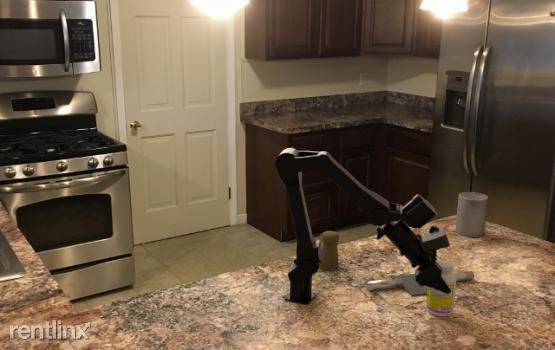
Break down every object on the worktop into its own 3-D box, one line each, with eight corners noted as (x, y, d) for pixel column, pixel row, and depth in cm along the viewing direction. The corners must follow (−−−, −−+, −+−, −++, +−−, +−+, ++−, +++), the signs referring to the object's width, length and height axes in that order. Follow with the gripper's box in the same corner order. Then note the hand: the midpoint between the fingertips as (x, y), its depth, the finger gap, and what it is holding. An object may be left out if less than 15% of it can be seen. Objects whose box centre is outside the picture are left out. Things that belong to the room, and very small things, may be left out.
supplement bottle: (432, 302, 145) (436, 256, 142) (457, 310, 141) (462, 262, 138) (421, 311, 140) (425, 263, 137) (446, 320, 136) (451, 271, 133)
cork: (340, 271, 163) (341, 236, 160) (319, 271, 163) (320, 235, 160) (338, 263, 169) (339, 229, 166) (318, 263, 169) (319, 228, 166)
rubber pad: (411, 296, 148) (411, 294, 148) (391, 277, 159) (391, 276, 159) (451, 291, 151) (452, 290, 151) (429, 273, 163) (429, 272, 162)
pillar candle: (464, 226, 204) (468, 186, 200) (489, 233, 196) (493, 192, 193) (449, 232, 198) (453, 191, 194) (474, 240, 190) (478, 197, 187)
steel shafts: (369, 292, 150) (369, 284, 150) (365, 288, 152) (366, 280, 152) (473, 280, 158) (474, 272, 158) (468, 277, 161) (469, 269, 160)
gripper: (434, 232, 126) (480, 281, 127) (427, 208, 144) (468, 251, 145) (396, 262, 130) (442, 310, 131) (394, 234, 147) (434, 277, 148)
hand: (447, 285), depth 139 cm, fingers open, 8 cm apart
